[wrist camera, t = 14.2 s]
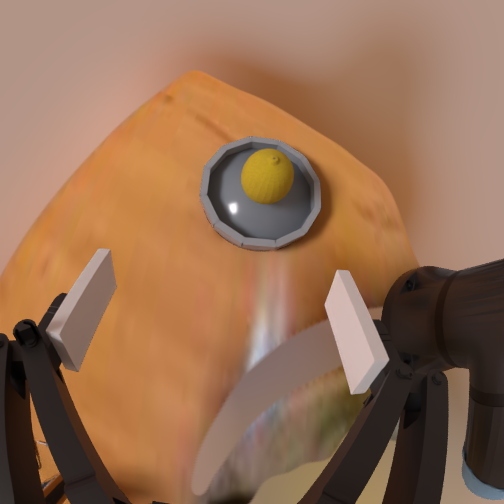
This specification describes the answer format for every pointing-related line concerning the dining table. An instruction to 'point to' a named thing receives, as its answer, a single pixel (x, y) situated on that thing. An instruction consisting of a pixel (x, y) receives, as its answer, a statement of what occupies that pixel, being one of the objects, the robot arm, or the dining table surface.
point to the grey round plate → (249, 212)
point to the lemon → (267, 176)
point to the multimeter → (53, 488)
